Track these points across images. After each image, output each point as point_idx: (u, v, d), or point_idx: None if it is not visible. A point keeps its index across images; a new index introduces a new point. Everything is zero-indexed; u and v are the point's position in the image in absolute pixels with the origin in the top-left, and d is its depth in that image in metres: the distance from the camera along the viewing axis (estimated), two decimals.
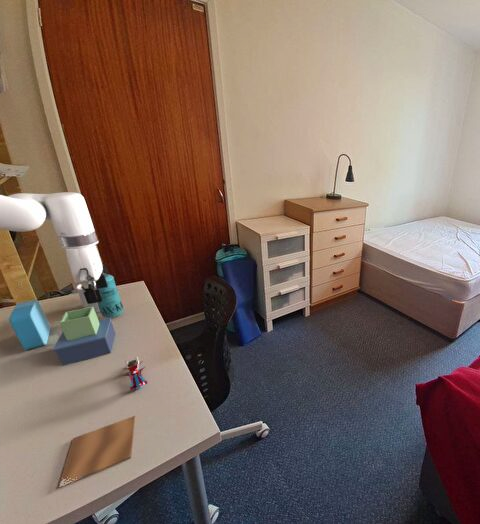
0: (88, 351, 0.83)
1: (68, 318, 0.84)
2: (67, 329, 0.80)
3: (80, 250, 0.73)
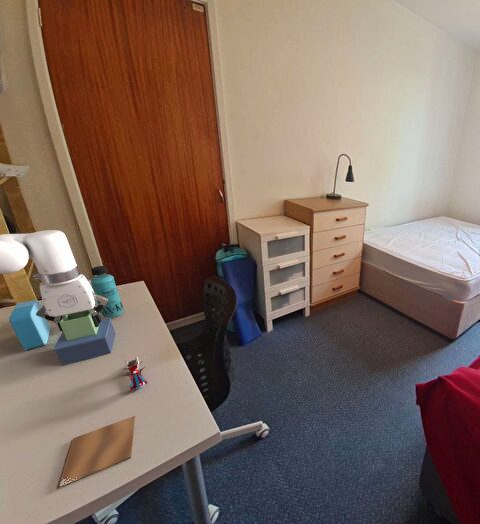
0: (88, 351, 0.83)
1: (68, 318, 0.84)
2: (67, 329, 0.80)
3: (84, 276, 0.81)
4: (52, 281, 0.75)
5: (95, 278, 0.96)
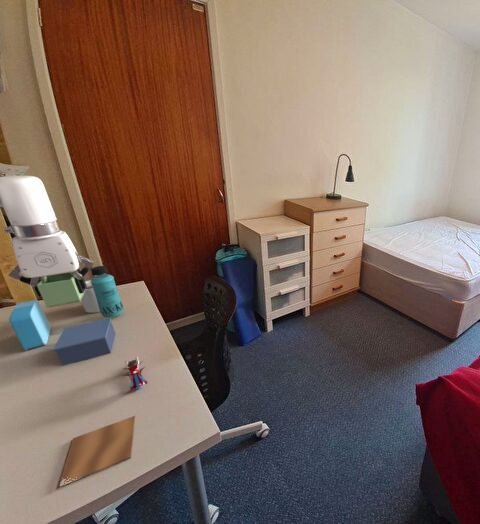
0: (88, 351, 0.83)
1: (48, 282, 0.73)
2: (46, 293, 0.70)
3: (65, 233, 0.71)
4: (27, 234, 0.64)
5: (95, 278, 0.96)
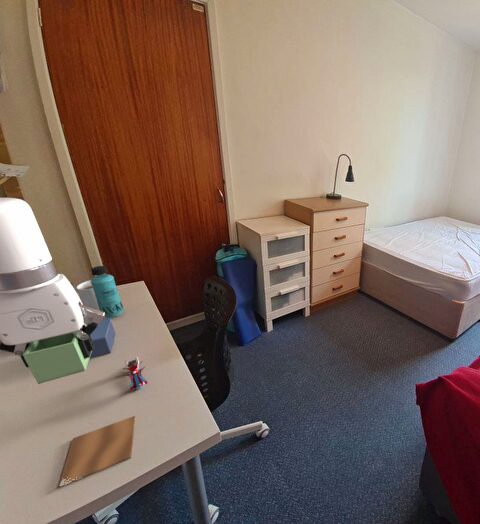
0: None
1: (40, 345, 0.52)
2: (37, 365, 0.49)
3: (65, 278, 0.49)
4: (7, 286, 0.43)
5: (95, 278, 0.96)
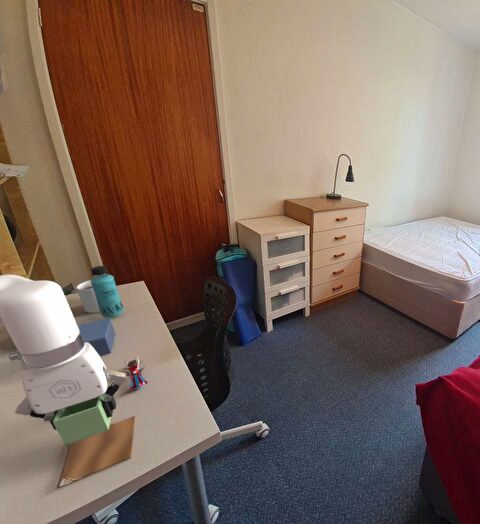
0: None
1: None
2: (65, 429, 0.52)
3: (91, 346, 0.53)
4: (40, 364, 0.46)
5: (95, 278, 0.96)
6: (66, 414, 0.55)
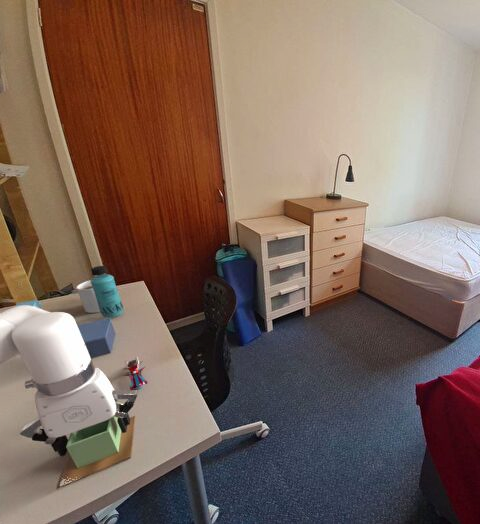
0: (88, 351, 0.83)
1: (78, 430, 0.58)
2: (77, 453, 0.55)
3: (101, 372, 0.55)
4: (54, 392, 0.49)
5: (95, 278, 0.96)
6: (78, 438, 0.57)
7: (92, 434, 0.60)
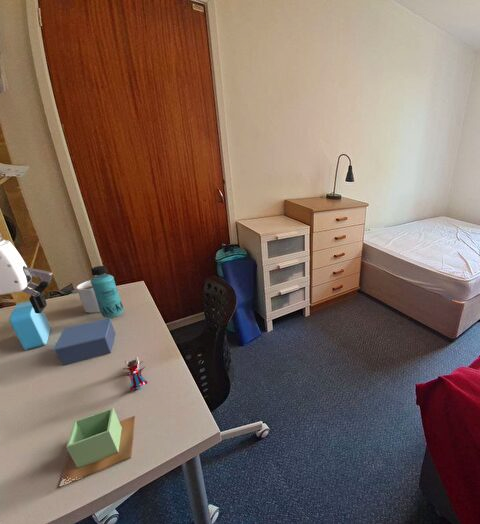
0: (88, 351, 0.83)
1: (78, 430, 0.58)
2: (77, 453, 0.55)
3: (10, 243, 0.56)
4: None
5: (95, 278, 0.96)
6: (78, 438, 0.57)
7: (92, 434, 0.60)
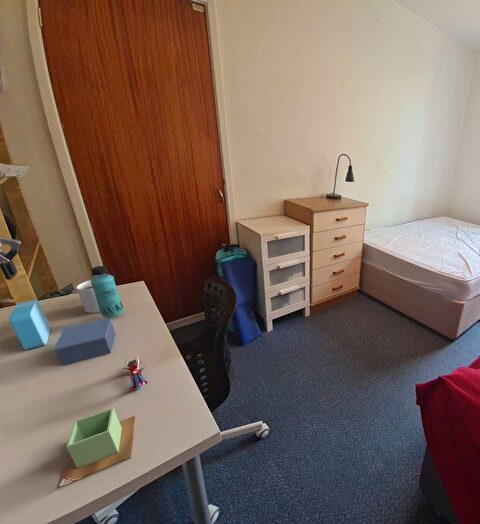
0: (88, 351, 0.83)
1: (78, 430, 0.58)
2: (77, 453, 0.55)
3: None
4: None
5: (95, 278, 0.96)
6: (78, 438, 0.57)
7: (92, 434, 0.60)
